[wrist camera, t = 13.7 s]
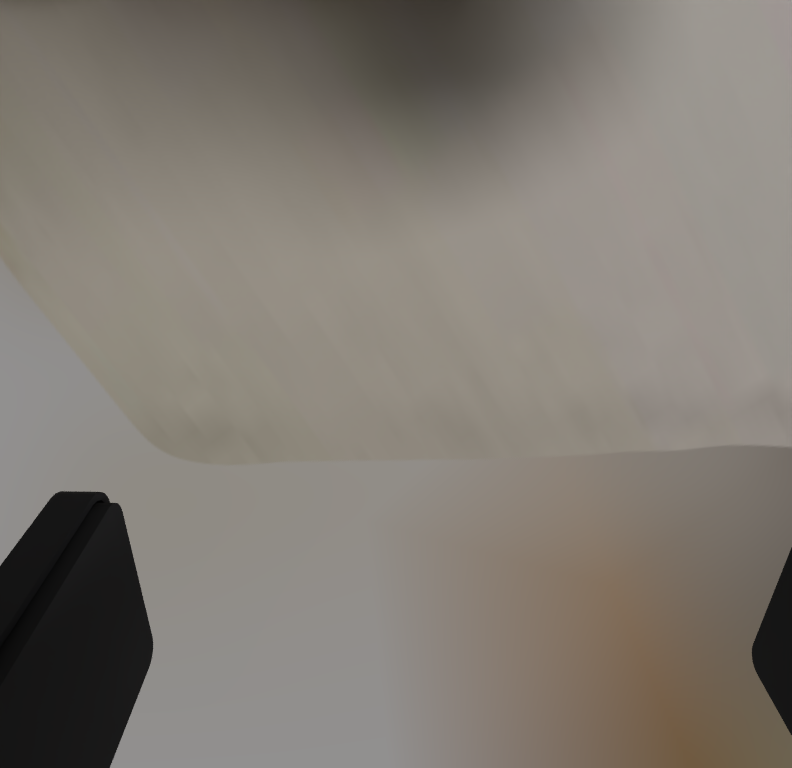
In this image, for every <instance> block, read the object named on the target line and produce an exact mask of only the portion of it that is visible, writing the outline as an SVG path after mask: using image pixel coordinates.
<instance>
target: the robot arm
mask: <svg viewBox="0 0 792 768" xmlns="http://www.w3.org/2000/svg"><path fill="white" fill-rule="evenodd" d="M152 652H153V638H152V634H151V629H150V625H149V621H148V617H147V612H146V608H145V604H144V600H143V596H142V592H141V587H140V583H139V579H138V575H137V571H136V567H135V563H134V558H133V554H132V550H131V546H130V541H129V537H128V533H127V529H126V525H125V521H124V516H123V512H122V509H121V507H120V505H119V504H117V503H110V501H109V499H108V497H107V496H106V494H105V493H102V492H63V491H62V492H58V493H56V494H55V495H54V496H53V497H52V498H51V499H50V500H49V502H48V503H47V504H46V505H45V507H44V508H43V510H42V511H41V512H40V514H39V515H38V516H37V517H36V519H35V520H34V522H33V523H32V525H31V526H30V527H29V528H28V530H27V531H26V532H25V534H24V535H23V536H22V538H21V539H20V541H19V542H18V543H17V544H16V546H15V547H14V548H13V550H12V551H11V552H10V554H9V555H8V556H7V558H6V559H5V560H4V562H3V563H2V564H1V566H0V768H110V765H111V763H112V760H113V758H114V755H115V753H116V750H117V748H118V745H119V742H120V740H121V737H122V735H123V732H124V729H125V727H126V725H127V722H128V720H129V717H130V714H131V712H132V709H133V707H134V704H135V702H136V699H137V697H138V694H139V692H140V689H141V687H142V684H143V681H144V679H145V676H146V674H147V671H148V669H149V666H150V663H151V658H152ZM752 659H753V664H754V667H755V670H756V672H757V674H758V676H759V678H760V680H761V681H762V683H763V685H764V687H765V689H766V691H767V692H768V694H769V696H770V698H771V699H772V701H773V703H774V705H775V706H776V708H777V710H778V712H779V714H780V715H781V717H782V719H783V721H784V722H785V724H786V726H787V728H788V730H789V732H790V733H791V735H792V548H791V551H790V553H789V556H788V558H787V561H786V563H785V566H784V568H783V571H782V573H781V576H780V578H779V581H778V583H777V586H776V589H775V591H774V593H773V596H772V598H771V601H770V603H769V606H768V608H767V611H766V613H765V616H764V618H763V621H762V623H761V626H760V628H759V631H758V633H757V636H756V639H755V641H754V643H753V647H752Z"/></svg>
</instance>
